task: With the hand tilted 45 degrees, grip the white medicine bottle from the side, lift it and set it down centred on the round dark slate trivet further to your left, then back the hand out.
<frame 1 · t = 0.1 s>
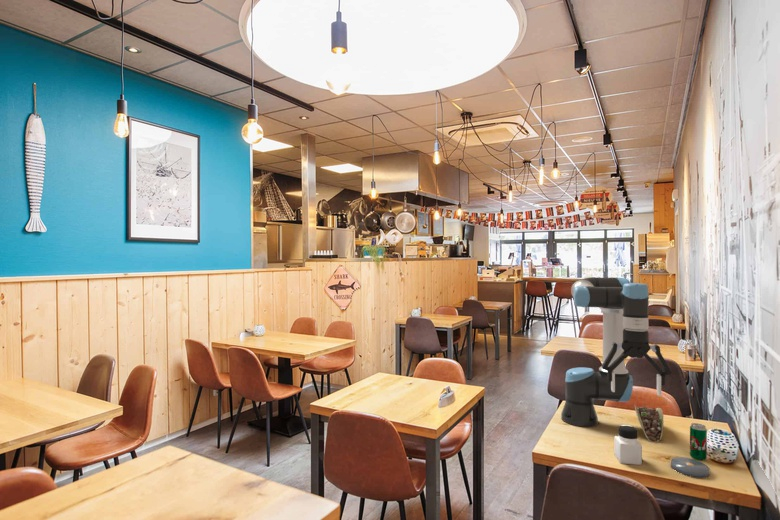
hand: (635, 393, 146), 28 cm above the table, tool pointing down, fingers open, 13 cm apart
soda can: (698, 458, 160), on the table
taco: (648, 431, 186), on the table
trivet: (689, 470, 150), on the table
medicine bottle: (627, 460, 158), on the table
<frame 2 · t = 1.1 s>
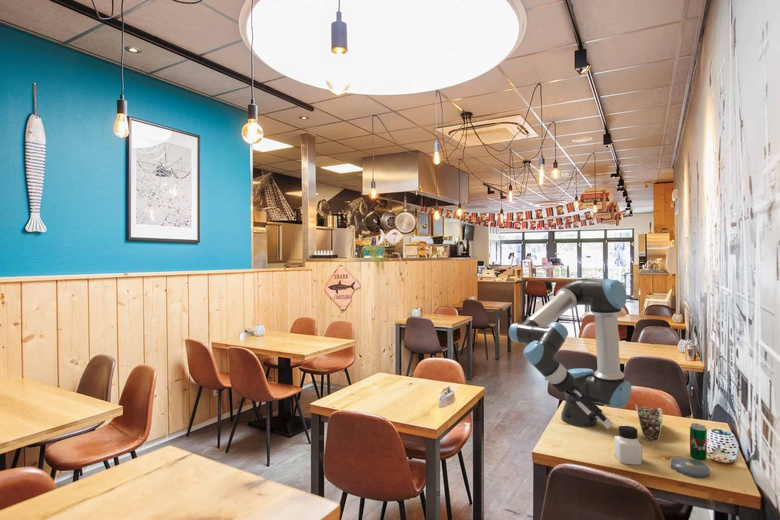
hand: (599, 418, 158), 15 cm above the table, tool tilted 45°, fingers open, 13 cm apart
nothing on the table moved.
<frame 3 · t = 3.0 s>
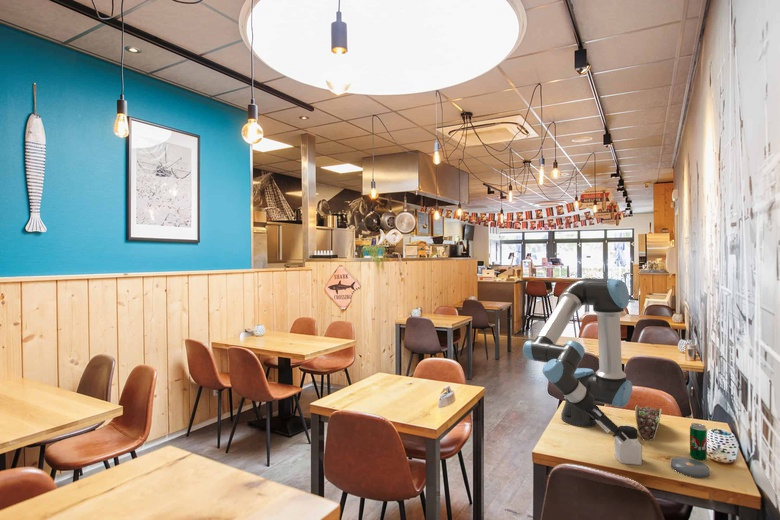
hand: (619, 437, 158), 8 cm above the table, tool tilted 45°, fingers open, 13 cm apart
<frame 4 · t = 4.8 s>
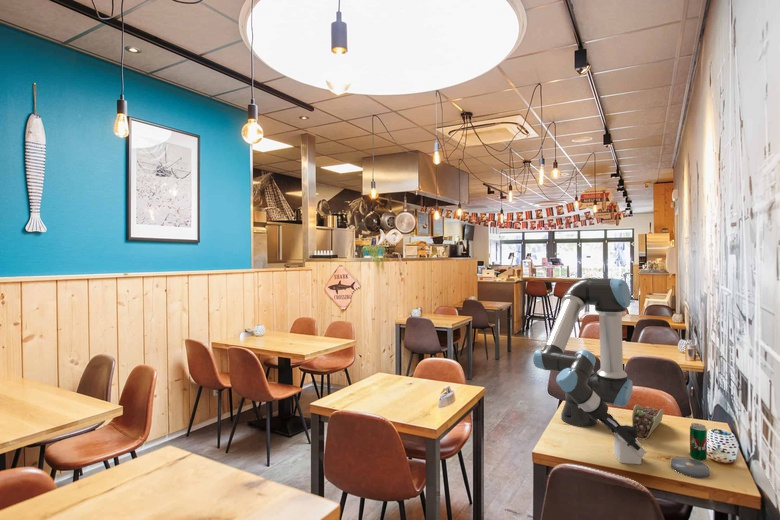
hand: (636, 449, 158), 4 cm above the table, tool tilted 45°, fingers closed on medicine bottle, 8 cm apart
medicine bottle: (627, 460, 158), on the table, touching gripper
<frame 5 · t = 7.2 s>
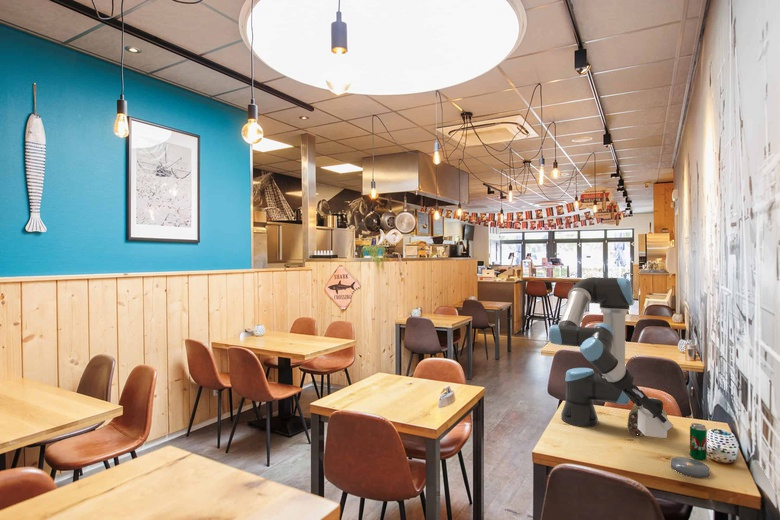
hand: (662, 422, 153), 15 cm above the table, tool tilted 45°, fingers closed on medicine bottle, 8 cm apart
medicine bottle: (651, 433, 153), point 11 cm above the table, touching gripper
when the fingers open (7 cm above the table, at t = 9.9 s): medicine bottle drops 1 cm, resting on trivet.
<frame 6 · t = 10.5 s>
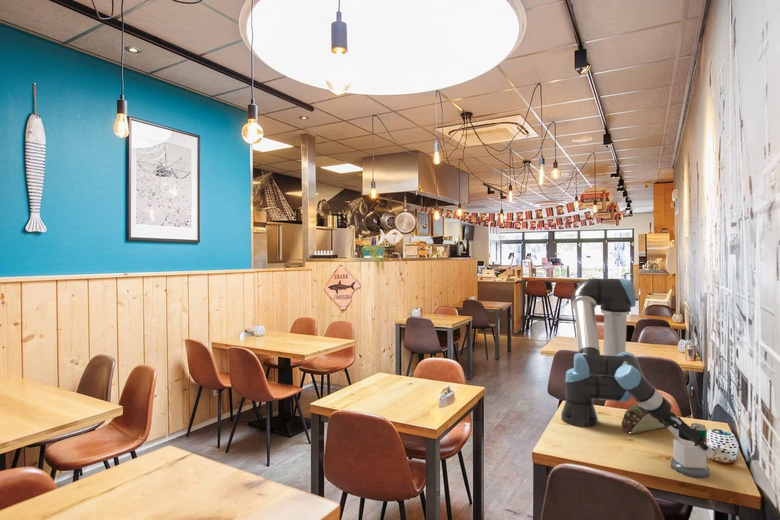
hand: (696, 446, 151), 8 cm above the table, tool tilted 45°, fingers open, 13 cm apart
medicine bottle: (689, 464, 150), point 2 cm above the table, touching trivet
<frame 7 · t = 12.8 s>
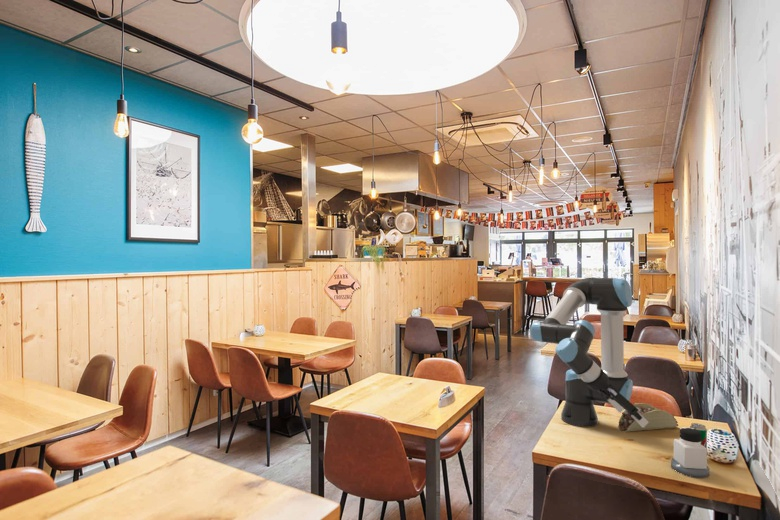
hand: (633, 417, 155), 17 cm above the table, tool tilted 45°, fingers open, 13 cm apart
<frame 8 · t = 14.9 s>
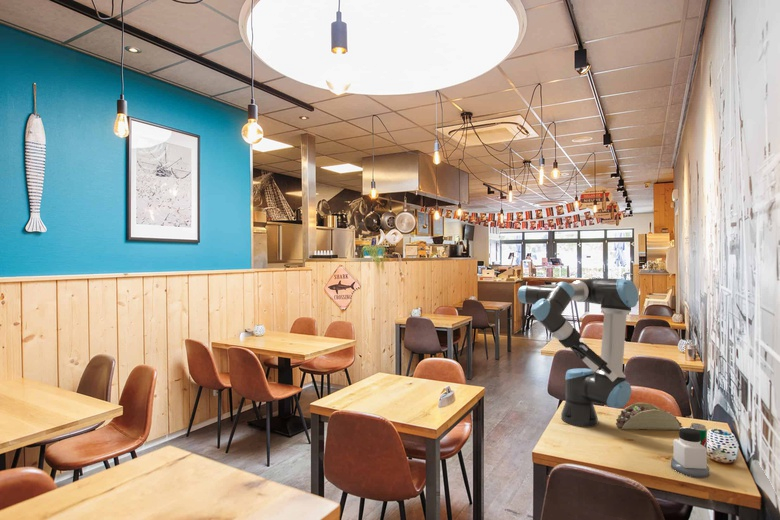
hand: (605, 374, 163), 30 cm above the table, tool tilted 45°, fingers open, 13 cm apart
at the end: medicine bottle 0.1 cm off-centre on the trivet, point 1.9 cm above the trivet's base; medicine bottle tilted 0°; the gripper is holding nothing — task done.
